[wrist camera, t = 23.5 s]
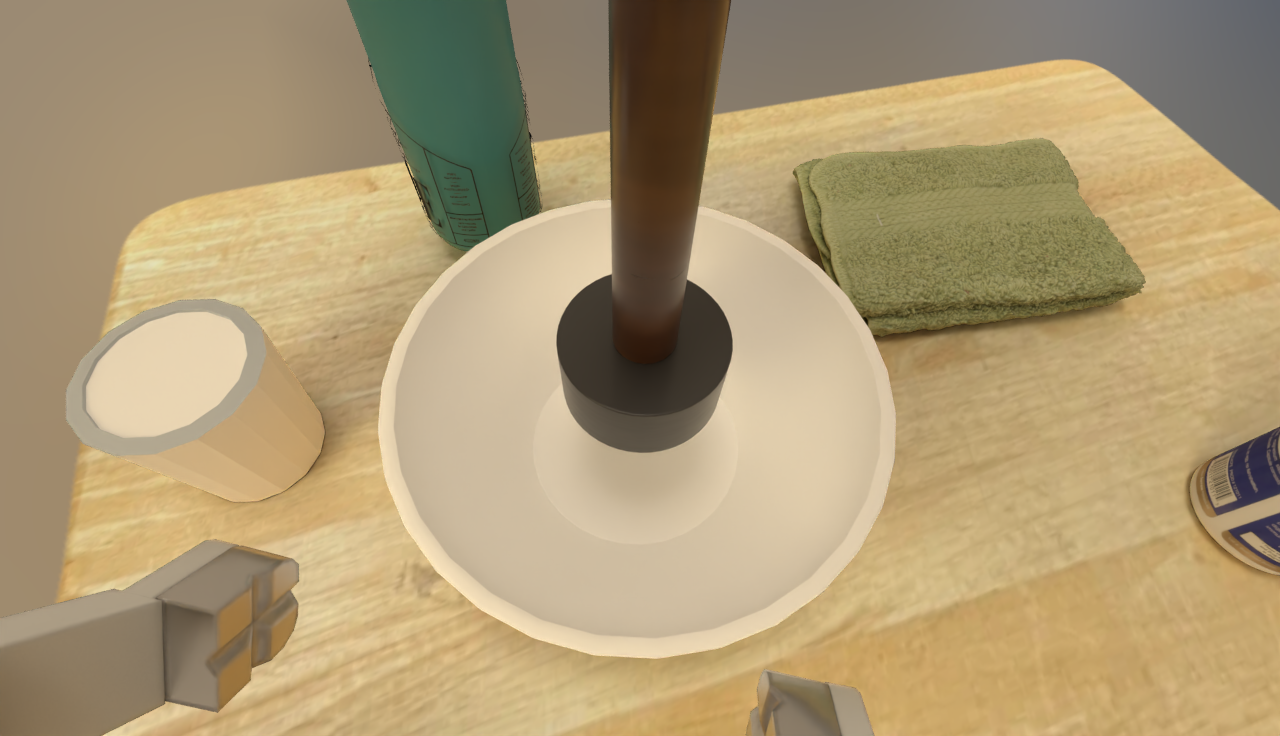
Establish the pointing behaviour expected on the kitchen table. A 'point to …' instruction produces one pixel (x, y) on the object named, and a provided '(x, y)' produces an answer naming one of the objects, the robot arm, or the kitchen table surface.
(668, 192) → the paper towel holder
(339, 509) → the kitchen table surface
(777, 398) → the bowl
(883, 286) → the washcloth
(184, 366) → the shot glass
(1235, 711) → the kitchen table surface
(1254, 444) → the pill bottle
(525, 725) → the kitchen table surface
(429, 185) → the beverage bottle
